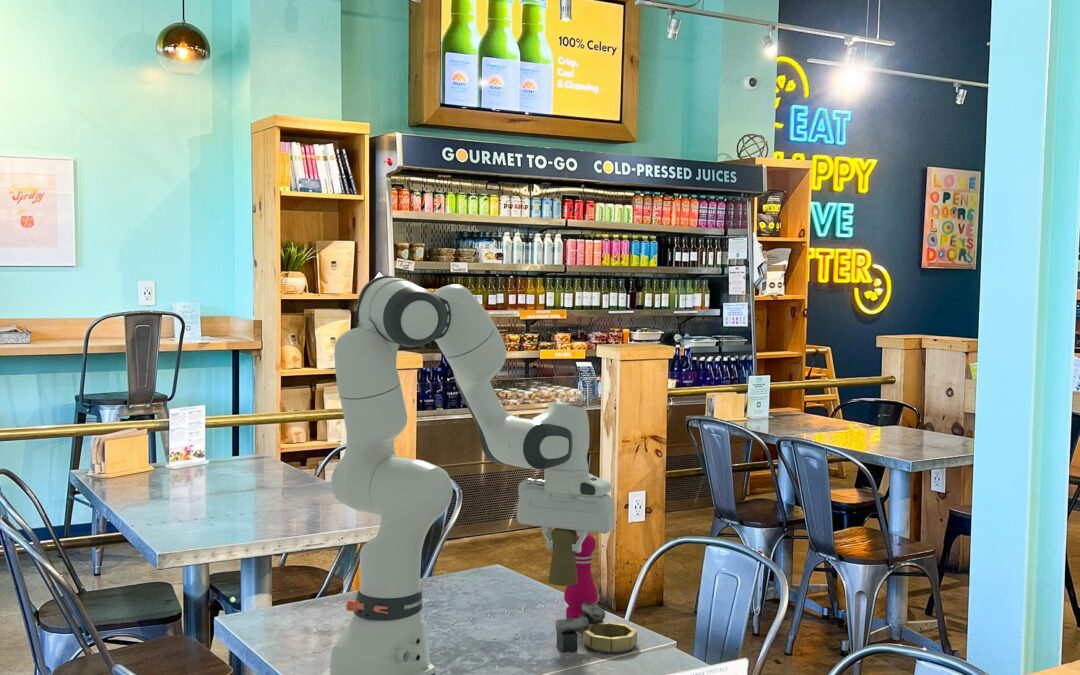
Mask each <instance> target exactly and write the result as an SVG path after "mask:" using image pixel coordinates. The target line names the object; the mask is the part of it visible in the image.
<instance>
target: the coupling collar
mask: <svg viewBox="0 0 1080 675" xmlns="http://www.w3.org/2000/svg"><path fill="white" fill-rule="evenodd" d="M582 643H583V647H584V648H585V649H586V650H588V651H590V652H593V653H597V654H603V655H620V654H621V655H622V654H628V653H631V652H633V651H635V649H637V643H638V630H636V629H635V628H633V627H632V626H631V625H629V624H625V623H619V622H612V621H611V622H608V621H606V622H604V621H603V623H595V624H590V625H589V629H588V631H583V633H582Z"/></svg>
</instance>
